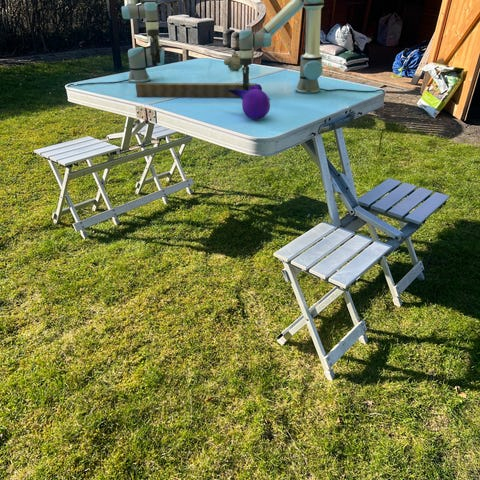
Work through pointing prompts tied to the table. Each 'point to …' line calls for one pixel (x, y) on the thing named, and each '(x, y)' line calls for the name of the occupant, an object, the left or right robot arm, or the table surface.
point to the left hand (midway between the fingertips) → (156, 64)
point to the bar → (189, 89)
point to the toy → (254, 102)
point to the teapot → (233, 62)
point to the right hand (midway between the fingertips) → (246, 96)
